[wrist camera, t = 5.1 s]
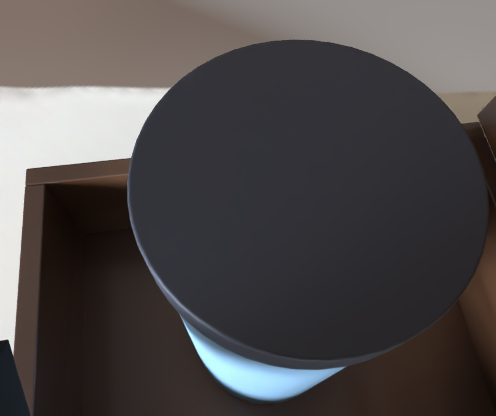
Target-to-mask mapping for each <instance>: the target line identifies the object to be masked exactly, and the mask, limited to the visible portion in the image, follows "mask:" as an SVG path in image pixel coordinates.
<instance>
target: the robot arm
mask: <svg viewBox="0 0 496 416" xmlns="http://www.w3.org/2000/svg"><path fill="white" fill-rule="evenodd" d="M0 416H31V415H30V411H29V408H28V405H27V401H26V398H25V395H24V391H23V388H22V384H21V381H20V378H19V374H18V371H17V368H16V364H15V361H14V358H13V354H12V351H11V347H10V344H9V341H8V340H3V341H0Z"/></svg>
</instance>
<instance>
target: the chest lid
mask: <svg viewBox="0 0 496 416" xmlns="http://www.w3.org/2000/svg"><path fill="white" fill-rule="evenodd" d="M477 116H478V119H479V121H480V123H481V126H482V128H483V131H484V133H485V135H486V138H487V140H488V143H489V145H490V147H491V150H492V152H493V155H494V157H495V159H496V96H495V97H494V98H493V99H492V100H491V101H490V102H489V103H488V105H487V106H486V107H485V108H484V109H483V110H482V111H481V112H480V113H479V114H478V115H477Z"/></svg>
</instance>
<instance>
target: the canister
mask: <svg viewBox="0 0 496 416" xmlns="http://www.w3.org/2000/svg"><path fill="white" fill-rule="evenodd" d="M127 193H128V208H129V215H130V221H131V226H132V229H133V232H134V235H135V238H136V242H137V245H138V247H139V249H140V251H141V253H142V255H143V257H144V260H145V262H146V264H147V266H148V268H149V270H150V272H151V273H152V275H153V277H154V279H155V281H156V283H157V285H158V286H159V288H160V289H161V291H162V292H163V294H164V295H165V297H166V298H167V300H168V301H169V303H170V304H171V305H172V306H173V307H174V308H175V309H176V310H177V312H178V313H179V314H180V316H181V318H182V320H183V322H184V324H185V327H186V329H187V331H188V333H189V335H190V337H191V339H192V342H193V344H194V346H195V348H196V350H197V352H198V354H199V356H200V359H201V361H202V363H203V365H204V367H205V369H206V370H207V372H208V373H209V375H210V376H211V378H212V379H213V380H214V381H215V382H216V383H217V384H218V385H219V386H220V387H221V388H222V389H223V390H225V391H226V392H228V393H229V394H231V395H232V396H234V397H236V398H238V399H241V400H244V401H247V402H250V403H256V404H276V403H281V402H285V401H288V400H290V399H293V398H295V397H297V396H299V395H300V394H302V393H304V392H305V391H307V390H309V389H310V388H312V387H314V386H315V385H317V384H318V383H320V382H322V381H323V380H325V379H327V378H328V377H330V376H332V375H333V374H335V373H337V372H338V371H340V370H342V369H343V368H345V367H347V366H349V365H353V364H357V363H361V362H364V361H368V360H370V359H372V358H375V357H377V356H379V355H382V354H384V353H386V352H388V351H390V350H392V349H394V348H396V347H398V346H400V345H402V344H403V343H405V342H407V341H409V340H410V339H412V338H414V337H415V336H417V335H418V334H420V333H422V332H423V331H425V330H426V329H428V328H429V327H431V326H432V325H433V324H434V323H435V322H436V321H438V320H439V319H440V318H441V317H442V316H443V315H445V314H446V313H447V312H448V311H449V310H450V308H451V307H452V306H453V305H454V304H455V303H456V301H457V300H458V299H459V298H460V297H461V295H462V294H463V293H464V291H465V289H466V288H467V286H468V284H469V283H470V281H471V279H472V278H473V276H474V274H475V272H476V269H477V267H478V265H479V262H480V260H481V257H482V255H483V251H484V246H485V242H486V238H487V233H488V222H489V199H488V188H487V184H486V179H485V175H484V170H483V167H482V164H481V162H480V159H479V156H478V154H477V151H476V149H475V147H474V145H473V143H472V141H471V139H470V137H469V135H468V134H467V132H466V130H465V129H464V127H463V126H462V124H461V123H460V121H459V120H458V119H457V117H456V116H455V114H454V113H453V112H452V111H451V110H450V109H449V107H448V106H447V105H446V104H445V103H444V102H443V101H442V100H441V98H439V97H438V96H437V95H436V94H435V93H434V92H433V91H431V89H429V88H428V87H427V86H426V85H425V84H424V83H422V82H421V81H419V80H418V79H417V78H415V77H414V76H412V75H411V74H409V73H408V72H406V71H405V70H403V69H401V68H400V67H398V66H396V65H394V64H392V63H391V62H388V61H386V60H384V59H382V58H380V57H377V56H375V55H373V54H370V53H367V52H364V51H361V50H359V49H355V48H353V47H348V46H344V45H339V44H335V43H329V42H321V41H314V40H282V41H271V42H266V43H259V44H253V45H250V46H246V47H242V48H239V49H235V50H233V51H230V52H228V53H225V54H223V55H220V56H218V57H215V58H213V59H212V60H210V61H208V62H206V63H204V64H202V65H201V66H199V67H197V68H196V69H194V70H193V71H192V72H190V73H189V74H187V75H186V76H184V77H183V78H182V79H181V80H180V81H178V82H177V83H176V84H175V85H174V86H173V87H172V88H171V89H170V90H169V91H168V92H167V93H166V94H165V95H164V96H163V98H162V99H161V100H160V101H159V102H158V103H157V105H156V106H155V107H154V109H153V110H152V112H151V114H150V115H149V117H148V118H147V120H146V121H145V123H144V125H143V127H142V130H141V132H140V134H139V136H138V138H137V140H136V143H135V147H134V150H133V153H132V157H131V160H130V167H129V174H128V181H127Z"/></svg>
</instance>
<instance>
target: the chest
mask: <svg viewBox="0 0 496 416" xmlns="http://www.w3.org/2000/svg"><path fill="white" fill-rule="evenodd" d="M462 126H463V127H464V129H465V130H466V132H467V134H468V135H469V137H470V139H471V141H472V143H473V145H474V147H475V149H476V151H477V154H478V156H479V159H480V162H481V164H482V167H483V170H484V175H485V179H486V184H487V188H488V199H489V222H488V233H487V238H486V242H485V246H484V251H483V255H482V257H481V260H480V262H479V265H478V267H477V269H476V272H475V274H474V276H473V278H472V279H471V281H470V283H469V284H468V286H467V288H466V289H465V291H464V293H463V294H462V295H461V297H460V298H459V299H458V300H457V301H456V303H455V304H454V305H453V306H452V307H451V308H450V310H449V311H448V312H447V313H446V314H445V315H443V316H442V317H441V318H440V319H439V320H438V321H436V322H435V323H434V324H433V325H432V326H431V327H429V328H428V329H426V330H425V331H423V332H422V333H420V334H418V335H417V336H415V337H414V338H412V339H410V340H409V341H407V342H405V343H403V344H402V345H400V346H398V347H396V348H394V349H392V350H390V351H388V352H386V353H384V354H382V355H379V356H377V357H375V358H372V359H370V360H368V361H364V362H361V363H357V364H353V365H349V366H347V367H345V368H343V369H342V370H340V371H338V372H337V373H335V374H333V375H332V376H330V377H328V378H327V379H325V380H323V381H322V382H320V383H318V384H317V385H315V386H314V387H312V388H310V389H309V390H307V391H305V392H304V393H302V394H300V395H299V396H297V397H295V398H293V399H290V400H288V401H285V402H281V403H276V404H256V403H250V402H247V401H244V400H241V399H238V398H236V397H234V396H232V395H231V394H229V393H228V392H226V391H225V390H223V389H222V388H221V387H220V386H219V385H218V384H217V383H216V382H215V381H214V380H213V379H212V378H211V376H210V375H209V373H208V372H207V370H206V369H205V367H204V365H203V363H202V361H201V359H200V356H199V354H198V352H197V350H196V348H195V346H194V344H193V342H192V339H191V337H190V335H189V333H188V331H187V329H186V327H185V324H184V322H183V320H182V318H181V316H180V314H179V313H178V312H177V310H176V309H175V308H174V307H173V306H172V305H171V304H170V303H169V301H168V300H167V298H166V297H165V295H164V294H163V292H162V291H161V289H160V288H159V286H158V285H157V283H156V281H155V279H154V277H153V275H152V273H151V272H150V270H149V268H148V266H147V264H146V262H145V260H144V257H143V255H142V253H141V251H140V249H139V247H138V245H137V242H136V238H135V235H134V232H133V229H132V226H131V221H130V215H129V208H128V193H127V181H128V174H129V167H130V160H131V158H128V159H118V160H108V161H99V162H89V163H80V164H70V165H60V166H51V167H41V168H31V169H27V170H26V184H25V185H26V186H25V197H24V211H23V226H22V240H21V255H20V269H19V283H18V298H17V312H16V327H15V341H14V355H13V358H14V361H15V364H16V368H17V371H18V374H19V378H20V381H21V384H22V388H23V391H24V395H25V398H26V401H27V405H28V408H29V411H30V415H31V416H496V160H495V158H494V156H493V153H492V151H491V148H490V146H489V144H488V141H487V139H486V137H485V135H484V132H483V130H482V127H481V125H480V123H479V122H474V123H464V124H462Z"/></svg>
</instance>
